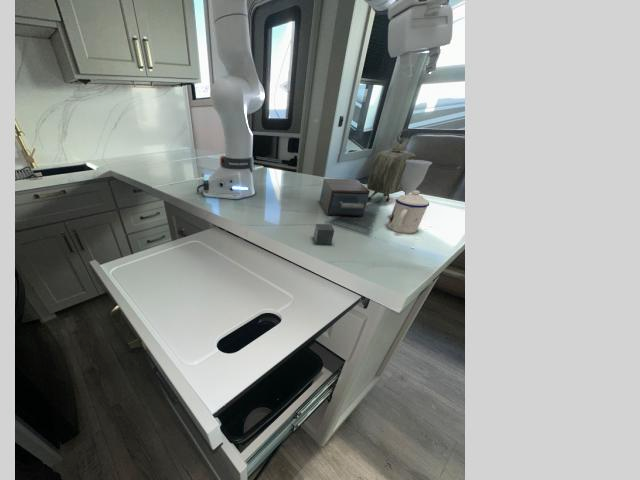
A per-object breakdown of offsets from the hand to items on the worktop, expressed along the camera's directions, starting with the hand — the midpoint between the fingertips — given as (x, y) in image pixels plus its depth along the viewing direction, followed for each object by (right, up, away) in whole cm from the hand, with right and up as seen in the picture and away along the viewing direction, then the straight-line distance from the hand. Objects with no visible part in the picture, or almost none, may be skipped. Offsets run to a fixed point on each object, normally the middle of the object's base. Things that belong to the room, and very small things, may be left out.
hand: (419, 74), depth 67 cm
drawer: (-8, -24, +30) cm, 39 cm away
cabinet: (-8, -22, +34) cm, 41 cm away
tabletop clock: (+13, -17, +42) cm, 47 cm away
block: (-22, -40, +11) cm, 47 cm away
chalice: (+10, -29, +26) cm, 40 cm away
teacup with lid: (+6, -35, +18) cm, 40 cm away
